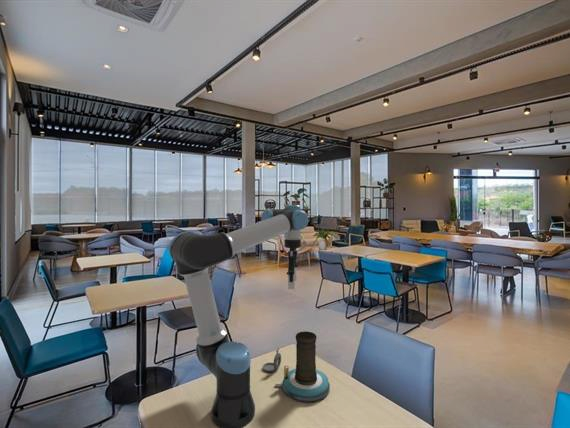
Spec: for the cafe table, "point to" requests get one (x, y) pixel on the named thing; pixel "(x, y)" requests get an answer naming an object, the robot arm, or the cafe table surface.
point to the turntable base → (303, 399)
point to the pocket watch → (273, 366)
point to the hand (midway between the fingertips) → (292, 284)
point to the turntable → (305, 390)
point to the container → (305, 358)
